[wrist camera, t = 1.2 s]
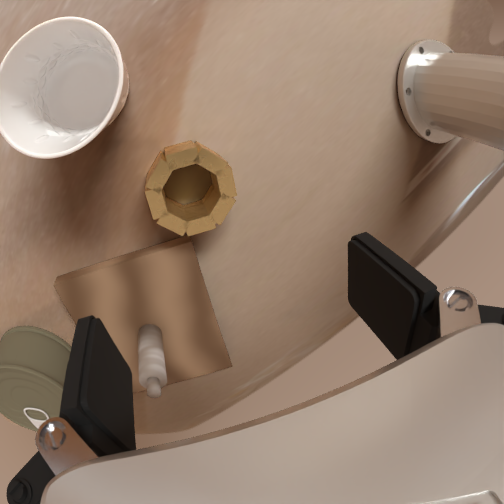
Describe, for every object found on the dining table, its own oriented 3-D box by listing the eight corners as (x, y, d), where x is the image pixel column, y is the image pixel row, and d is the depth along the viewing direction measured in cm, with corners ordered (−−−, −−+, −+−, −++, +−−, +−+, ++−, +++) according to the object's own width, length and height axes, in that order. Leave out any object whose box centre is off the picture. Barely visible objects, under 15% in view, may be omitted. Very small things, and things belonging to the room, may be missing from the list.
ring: (215, 134, 25) (225, 139, 22) (231, 204, 29) (242, 220, 25) (139, 155, 24) (136, 164, 21) (160, 225, 28) (161, 244, 24)
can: (75, 326, 30) (65, 372, 24) (93, 395, 35) (91, 437, 29) (-14, 320, 26) (-33, 361, 20) (16, 388, 31) (6, 427, 25)
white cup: (119, 146, 23) (98, 171, 15) (36, 128, 20) (-20, 147, 12) (150, 56, 21) (146, 29, 12) (64, 39, 18) (18, 12, 9)
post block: (189, 234, 29) (205, 292, 21) (229, 357, 37) (251, 419, 29) (57, 276, 27) (31, 342, 18) (124, 386, 35) (127, 449, 27)
